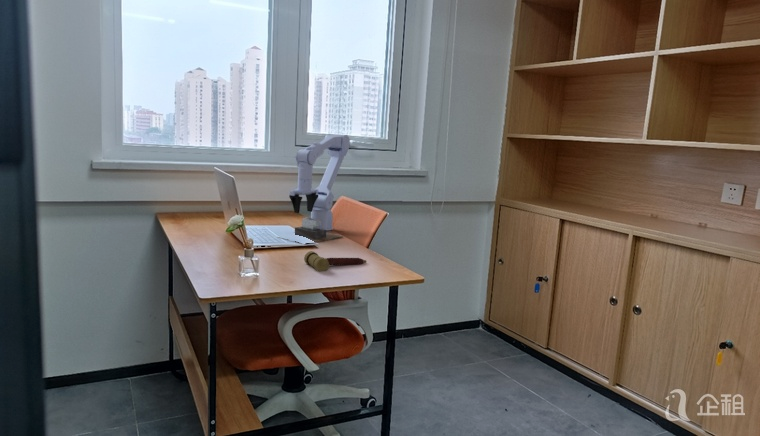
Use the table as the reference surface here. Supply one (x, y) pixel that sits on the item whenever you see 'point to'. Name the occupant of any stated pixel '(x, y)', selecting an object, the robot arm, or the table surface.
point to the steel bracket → (310, 224)
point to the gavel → (329, 261)
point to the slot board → (316, 234)
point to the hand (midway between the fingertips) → (303, 212)
